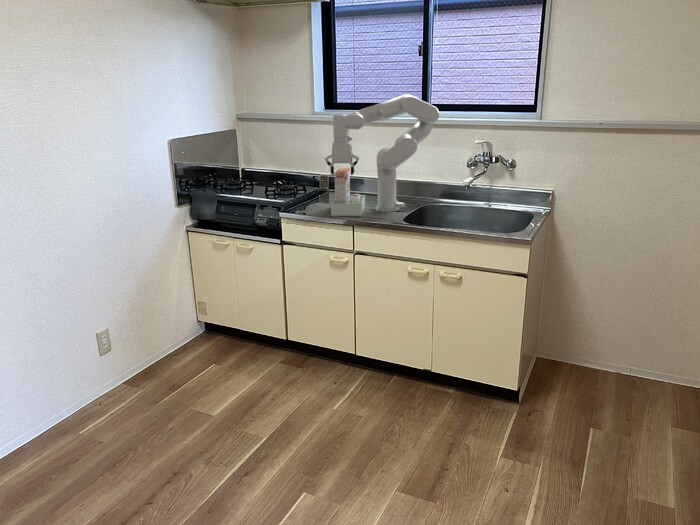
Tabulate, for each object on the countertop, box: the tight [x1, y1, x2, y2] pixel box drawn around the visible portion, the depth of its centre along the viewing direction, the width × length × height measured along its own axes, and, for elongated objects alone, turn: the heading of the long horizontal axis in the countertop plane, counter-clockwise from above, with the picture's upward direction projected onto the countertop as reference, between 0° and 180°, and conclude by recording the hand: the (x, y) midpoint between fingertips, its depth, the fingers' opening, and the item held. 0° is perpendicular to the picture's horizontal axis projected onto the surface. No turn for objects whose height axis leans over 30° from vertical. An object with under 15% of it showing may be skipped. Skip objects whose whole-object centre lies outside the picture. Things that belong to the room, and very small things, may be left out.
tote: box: [329, 194, 366, 217], centre depth 290 cm, size 16×18×7 cm
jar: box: [351, 193, 361, 203], centre depth 289 cm, size 4×4×9 cm
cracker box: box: [334, 167, 351, 203], centre depth 288 cm, size 14×6×21 cm, turn 171°
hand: (342, 174), depth 285 cm, fingers open, 9 cm apart
